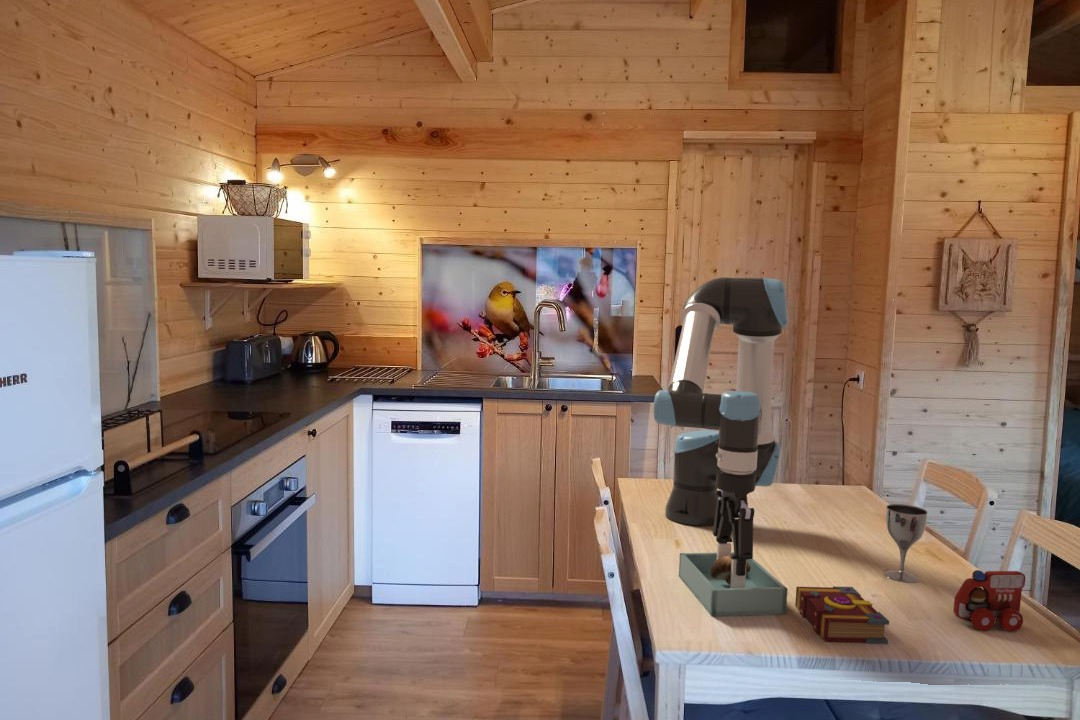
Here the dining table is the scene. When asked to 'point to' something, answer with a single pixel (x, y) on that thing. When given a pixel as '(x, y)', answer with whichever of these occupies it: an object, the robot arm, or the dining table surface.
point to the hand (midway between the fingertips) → (729, 581)
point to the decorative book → (841, 614)
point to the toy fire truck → (991, 599)
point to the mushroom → (724, 569)
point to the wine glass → (904, 535)
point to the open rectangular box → (722, 600)
